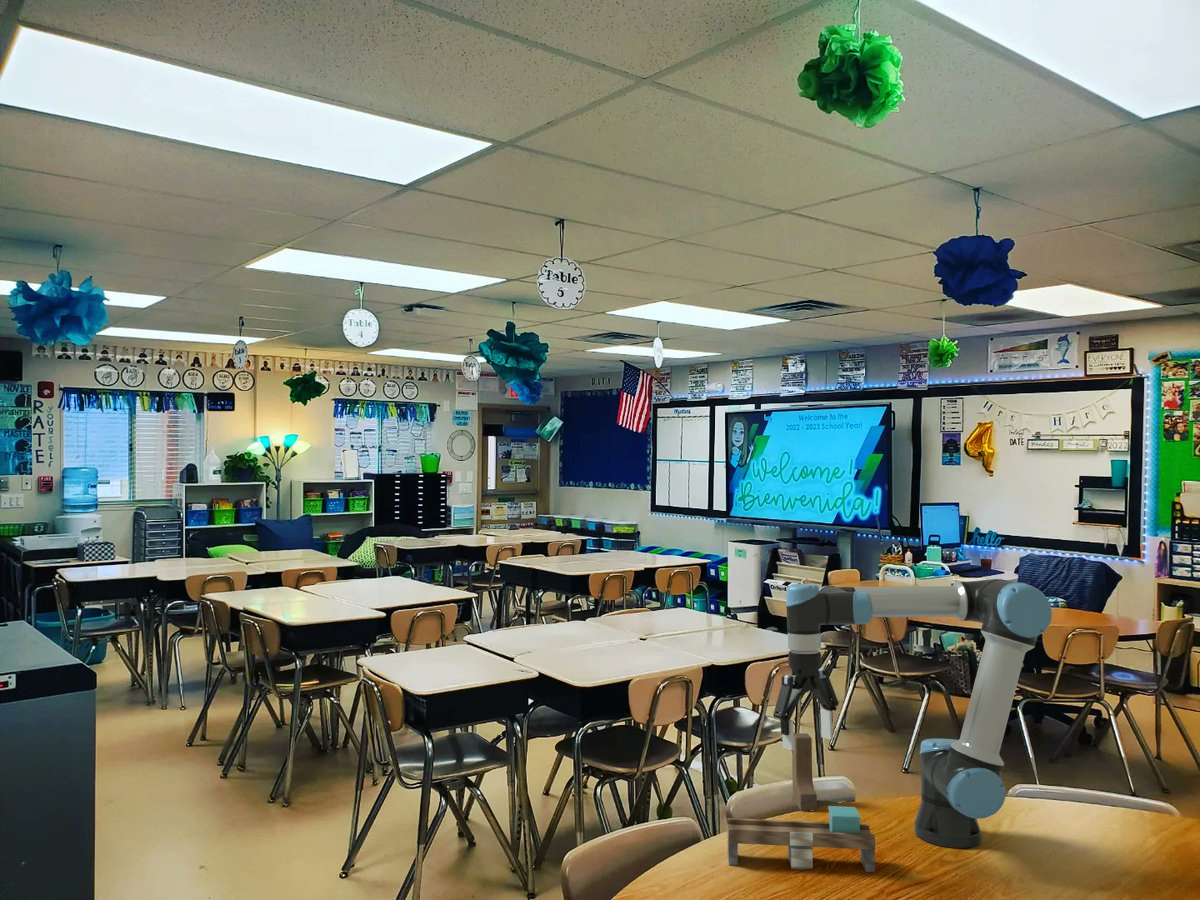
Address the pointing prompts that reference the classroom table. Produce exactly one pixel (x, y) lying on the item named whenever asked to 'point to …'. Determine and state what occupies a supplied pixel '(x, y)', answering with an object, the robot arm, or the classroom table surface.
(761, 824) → the wooden bench
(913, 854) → the classroom table surface
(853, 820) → the rider
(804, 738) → the wooden block
